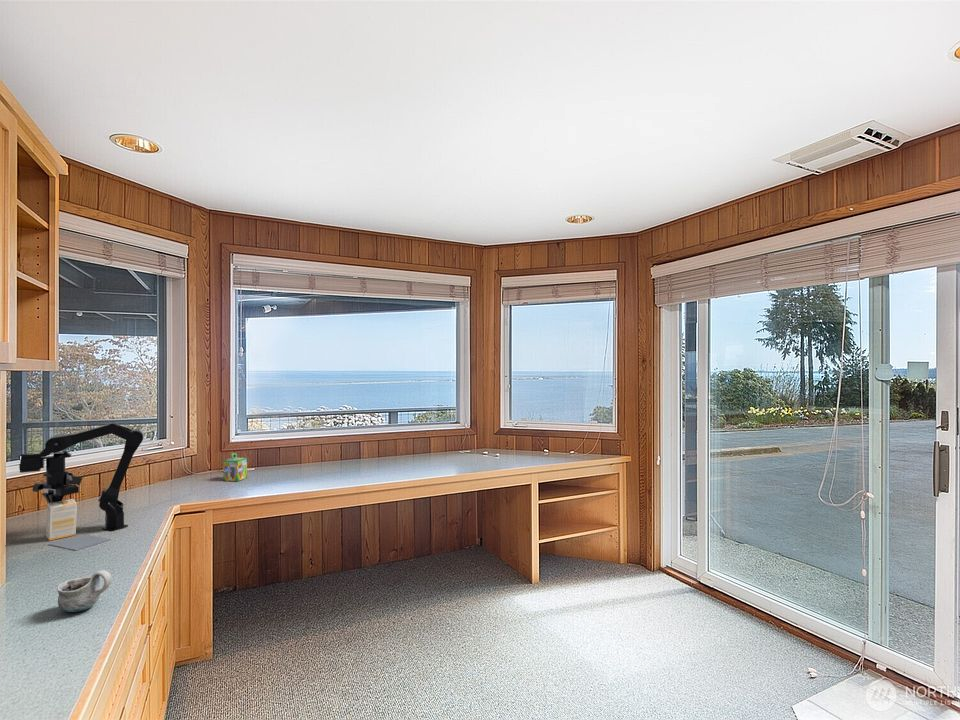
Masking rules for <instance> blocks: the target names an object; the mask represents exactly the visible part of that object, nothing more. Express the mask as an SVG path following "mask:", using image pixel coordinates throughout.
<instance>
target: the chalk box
mask: <svg viewBox="0 0 960 720" xmlns="http://www.w3.org/2000/svg"><path fill="white" fill-rule="evenodd" d="M234 455H235V457H234ZM230 456H231V457H230V458H226V459H223V460H222V465H223V466H222V475H223V477H222V479H223V480H222V481H223V482H239V481H243V480H246V479H247V478H248V458H247V457H238V454H237V452H232V453H230Z"/></svg>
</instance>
